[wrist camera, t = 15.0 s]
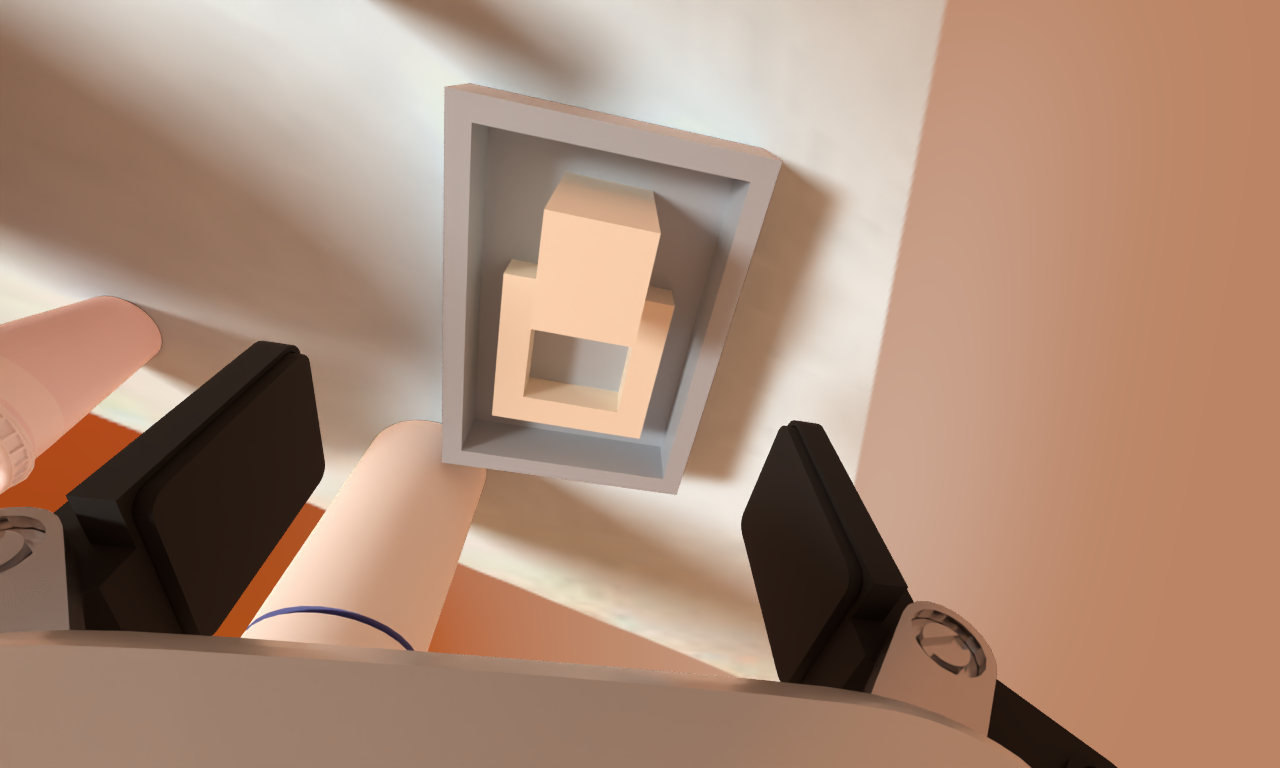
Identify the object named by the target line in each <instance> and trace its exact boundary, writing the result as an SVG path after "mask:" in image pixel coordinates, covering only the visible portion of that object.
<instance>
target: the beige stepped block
mask: <svg viewBox="0 0 1280 768" xmlns="http://www.w3.org/2000/svg"><path fill="white" fill-rule="evenodd" d="M660 235H661V232H660V227H659V221H658V216H657V210H656V205H655V199H654V193H653V191H652V190H647V189H643V188H638V187H634V186H629V185H624V184H620V183H615V182H611V181H606V180H602V179H597V178H593V177H588V176H584V175H579V174H574V173H570V172H565V174H564V175H563V177H562V179H561V181H560V182H559V184H558V186H557V188H556V189H555V191H554V193H553V195H552V196H551V198H550V200H549V202H548V203H547V205H546V207H545V209H544V215H543V223H542V232H541V241H540V249H539V258H538V264H535V263H530V262H525V261H520V260H515V259H512V260H511V262H510V263H509V265H508V267H507V268H506V270H505V272H504V275H503V287H502V299H501V312H500V324H499V336H498V348H497V360H496V372H495V385H494V397H493V409H492V415H493V416H499V417H506V418H512V419H518V420H524V421H531V422H537V423H543V424H549V425H556V426H562V427H568V428H574V429H581V430H587V431H593V432H599V433H606V434H612V435H618V436H624V437H631V438H637V439H640V435H641V432H642V428H643V424H644V420H645V417H646V413H647V409H648V405H649V401H650V398H651V394H652V390H653V386H654V383H655V379H656V375H657V371H658V368H659V364H660V360H661V356H662V353H663V349H664V345H665V341H666V338H667V334H668V330H669V326H670V323H671V319H672V315H673V311H674V308H675V304H674V299H673V294H672V290H667V289H662V288H657V287H652V286H649V282H650V278H651V273H652V269H653V265H654V261H655V256H656V252H657V248H658V243H659V239H660ZM535 330H538V331H544V332H549V333H555V334H560V335H566V336H571V337H577V338H582V339H588V340H594V341H599V342H605V343H610V344H616V345H621V346H627V347H629V348H628V352H627V357H626V361H625V366H624V370H623V374H622V379H621V383H620V388H619V392H614V391H608V390H603V389H597V388H591V387H585V386H579V385H573V384H567V383H561V382H556V381H550V380H544V379H538V378H532V377H529V376H530V368H531V359H532V351H533V343H534V335H535Z"/></svg>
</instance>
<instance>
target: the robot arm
mask: <svg viewBox="0 0 1280 768" xmlns="http://www.w3.org/2000/svg"><path fill="white" fill-rule="evenodd" d="M324 469H325V460H324V454H323V447H322V440H321V434H320V427H319V421H318V414H317V407H316V401H315V394H314V388H313V381H312V374H311V368H310V362H309V359H308V357H307V356H306V355H302V354H300V351H299V349H298V348H297V347H296V346H294V345H288V344H281V343H274V342H268V341H258V342H256V343H254V344H253V345H252V346H251V347H249V348H248V349H247V350H246V351H244V352H243V353H242V354H241V355H239V356H238V357H237V358H236V359H235V360H233V361H232V362H231V363H230V364H228V365H227V366H226V367H225V368H223V369H222V370H221V371H220V372H218V373H217V374H216V375H215V376H213V377H212V378H211V379H210V380H208V381H207V382H206V383H205V384H203V385H202V386H201V387H200V388H199V389H197V390H196V391H195V392H194V393H192V394H191V395H190V396H189V397H187V398H186V399H185V400H184V401H182V402H181V403H180V404H179V405H177V406H176V407H175V408H174V409H172V410H171V411H170V412H169V413H167V414H166V415H165V416H164V417H163V418H161V419H160V420H159V421H158V422H156V423H155V424H154V425H153V426H151V427H150V428H149V429H148V430H146V431H145V432H144V433H143V434H141V435H140V436H139V437H138V438H137V439H135V440H134V441H133V442H131V443H130V444H129V445H128V446H127V447H125V448H124V449H123V450H122V451H120V452H119V453H118V454H117V455H115V456H114V457H113V458H112V459H110V460H109V461H108V462H107V463H105V464H104V465H103V466H102V467H101V468H99V469H98V470H97V471H96V472H94V473H93V474H92V475H91V476H89V477H88V478H87V479H86V480H84V481H83V482H82V483H81V484H79V485H78V486H77V487H76V488H74V489H73V490H72V491H71V492H69V493H68V494H67V495H66V497H67V499H68V502H66V503H65V504H64V505H63V506H62V507H60V508H59V509H58V510H57V511H56V512H54V513H51V512H50V511H48V510H45V509H39V508H33V507H13V508H3V509H0V768H1117V767H1116V766H1115V765H1114V764H1112V763H1111V762H1110V761H1109V760H1107V759H1106V758H1104V757H1103V756H1102V755H1100V754H1099V753H1098V752H1096V751H1095V750H1093V749H1092V748H1091V747H1089V746H1088V745H1086V744H1085V743H1084V742H1082V741H1081V740H1079V739H1078V738H1077V737H1075V736H1074V735H1073V734H1071V733H1070V732H1069V731H1067V730H1066V729H1064V728H1063V727H1062V726H1060V725H1059V724H1058V723H1056V722H1055V721H1053V720H1052V719H1051V718H1049V717H1048V716H1046V715H1045V714H1044V713H1042V712H1041V711H1040V710H1038V709H1037V708H1036V707H1034V706H1033V705H1031V704H1030V703H1029V702H1027V701H1026V700H1025V699H1023V698H1022V697H1020V696H1019V695H1018V694H1016V693H1015V692H1014V691H1012V690H1011V689H1009V688H1008V687H1007V686H1005V685H1004V684H1003V683H1001V682H1000V681H998V680H997V679H996V678H997V664H996V660H995V657H994V655H993V653H992V650H991V648H990V647H989V645H988V644H987V642H986V641H985V639H984V638H983V636H982V635H981V634H980V633H979V632H978V631H977V630H976V629H975V628H974V627H973V626H972V625H971V624H970V623H969V622H968V621H966V620H965V619H964V618H962V617H961V616H960V615H958V614H957V613H955V612H954V611H952V610H950V609H947V608H946V607H944V606H942V605H939V604H935V603H932V602H926V601H917V602H913V600H912V598H911V596H910V594H909V592H908V590H907V588H908V586H907V584H906V582H905V580H904V579H903V577H902V575H901V573H900V571H899V569H898V567H897V565H896V564H895V562H894V560H893V559H892V556H891V554H890V552H889V550H888V549H887V547H886V545H885V543H884V541H883V539H882V538H881V536H880V534H879V532H878V530H877V528H876V526H875V524H874V523H873V521H872V519H871V517H870V515H869V513H868V511H867V509H866V507H865V506H864V504H863V502H862V500H861V498H860V496H859V494H858V492H857V491H856V489H855V487H854V485H853V483H852V481H851V479H850V477H849V476H848V474H847V472H846V470H845V468H844V466H843V464H842V462H841V461H840V459H839V457H838V455H837V453H836V451H835V449H834V448H833V446H832V444H831V442H830V440H829V438H828V436H827V434H826V433H825V431H824V429H823V427H822V426H821V425H819V424H816V423H809V422H802V421H795V420H794V421H791V422H790V423H789V424H788V426H782V427H781V428H780V429H779V431H778V433H777V436H776V438H775V440H774V443H773V445H772V447H771V450H770V452H769V454H768V457H767V459H766V461H765V464H764V466H763V468H762V471H761V473H760V476H759V478H758V480H757V483H756V485H755V487H754V490H753V492H752V494H751V497H750V499H749V501H748V504H747V506H746V508H745V511H744V513H743V516H742V521H741V530H742V535H743V539H744V543H745V547H746V551H747V555H748V559H749V563H750V567H751V571H752V575H753V579H754V583H755V587H756V591H757V595H758V599H759V603H760V606H761V610H762V614H763V618H764V622H765V626H766V630H767V634H768V638H769V642H770V646H771V650H772V654H773V658H774V662H775V666H776V670H777V674H778V677H779V680H780V681H781V682H776V681H766V680H756V679H747V678H736V677H724V676H713V675H701V674H690V673H678V672H666V671H655V670H643V669H631V668H620V667H607V666H596V665H583V664H572V663H559V662H547V661H535V660H522V659H509V658H498V657H485V656H473V655H460V654H446V653H435V652H422V651H410V650H396V649H383V648H370V647H357V646H343V645H330V644H317V643H303V642H290V641H277V640H263V639H250V638H235V637H218V636H212V635H213V634H214V633H215V632H216V631H217V630H218V628H219V627H220V626H221V624H222V623H223V621H224V620H225V618H226V617H227V615H228V614H229V613H230V611H231V610H232V608H233V607H234V605H235V604H236V602H237V601H238V599H239V598H240V597H241V595H242V594H243V592H244V591H245V589H246V588H247V586H248V585H249V584H250V582H251V581H252V579H253V578H254V576H255V575H256V574H257V572H258V571H259V569H260V568H261V566H262V565H263V563H264V562H265V561H266V559H267V558H268V556H269V555H270V553H271V552H272V550H273V549H274V548H275V546H276V545H277V543H278V542H279V540H280V539H281V538H282V536H283V535H284V533H285V532H286V530H287V529H288V527H289V526H290V525H291V523H292V522H293V520H294V519H295V517H296V516H297V514H298V513H299V512H300V510H301V508H302V507H303V506H304V504H305V503H306V501H307V500H308V499H309V497H310V496H311V494H312V493H313V491H314V490H315V489H316V487H317V486H318V484H319V483H320V481H321V479H322V477H323V474H324Z"/></svg>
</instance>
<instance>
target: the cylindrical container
mask: <svg viewBox="0 0 1280 768" xmlns="http://www.w3.org/2000/svg"><path fill="white" fill-rule="evenodd" d="M486 474H487V471H486V468H479V467H471V466H464V465H457V464H450V463H442V424H440V423H436V422H431V421H425V420H411V421H403V422H399V423H396V424H394V425H391V426H389V427H387V428H386V429H384V430H383V431H381V432H380V433H379V434H378V435H377V436H376V438H375V439H374V441H373V442H372V444H371V445H370V447H369V448H368V450H367V451H366V452H365V454H364V455H363V457H362V458H361V460H360V461H359V463H358V464H357V466H356V467H355V469H354V470H353V472H352V473H351V475H350V476H349V478H348V479H347V481H346V482H345V484H344V485H343V487H342V488H341V490H340V491H339V493H338V494H337V496H336V497H335V499H334V500H333V502H332V503H331V505H330V506H329V507H328V509H327V510H326V512H325V514H324V515H323V516H322V518H321V519H320V521H319V522H318V524H317V525H316V527H315V528H314V530H313V531H312V533H311V534H310V536H309V537H308V539H307V540H306V542H305V543H304V545H303V546H302V547H301V549H300V551H299V552H298V553H297V555H296V556H295V558H294V560H293V561H292V562H291V564H290V565H289V567H288V568H287V570H286V571H285V573H284V574H283V576H282V577H281V579H280V580H279V582H278V583H277V585H276V586H275V587H274V589H273V590H272V592H271V594H270V595H269V596H268V598H267V599H266V601H265V602H264V604H263V605H262V607H261V608H260V610H259V611H258V613H257V614H256V616H255V617H254V619H253V620H252V622H251V623H250V625H249V626H248V628H247V629H246V631H245V632H244V633H243V635H242V636H241V638H250V639H263V640H277V641H290V642H303V643H317V644H330V645H343V646H357V647H370V648H383V649H396V650H410V651H422V652H427V651H428V648H429V645H430V642H431V639H432V636H433V633H434V630H435V627H436V625H437V622H438V618H439V616H440V613H441V610H442V607H443V604H444V601H445V598H446V595H447V592H448V590H449V587H450V584H451V581H452V578H453V575H454V572H455V569H456V566H457V563H458V560H459V557H460V554H461V551H462V549H463V546H464V543H465V540H466V537H467V534H468V531H469V528H470V525H471V522H472V519H473V516H474V513H475V510H476V507H477V505H478V502H479V499H480V496H481V493H482V490H483V487H484V484H485V481H486Z"/></svg>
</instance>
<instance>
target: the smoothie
mask: <svg viewBox="0 0 1280 768" xmlns="http://www.w3.org/2000/svg"><path fill="white" fill-rule="evenodd" d="M161 345H162V338H161V334H160V331H159V329H158V327H157V326H156V324H155V323H154V321H153V320H152V319H151V318H150V317H149V316H148V315H147V314H146V313H145V312H144V311H142V310H141V309H140V308H138V307H137V306H135V305H133V304H132V303H130V302H128V301H125V300H123V299H120V298H116V297H111V296H99V297H95V298H91V299H88V300H84V301H81V302H77V303H74V304H70V305H67V306H63V307H60V308H56V309H53V310H49V311H46V312H42V313H39V314H35V315H32V316H28V317H25V318H21V319H18V320H14V321H11V322H7V323H4V324H0V494H1V493H3V492H4V491H5V490H7V489H8V488H10V487H12V486H14V485H16V484H18V483H20V482H21V481H23V480H25V479H27V477H28V476H29V474H30V473H31V471H32V470H33V468H34V460H35V459H36V458H37V457H38V456H39V455H40V454H42V453H43V452H44V451H45V450H46V449H48V448H49V447H50V446H51V445H52V444H54V443H55V442H56V441H57V440H58V439H59V438H60V437H61V436H62V435H64V434H65V433H66V432H67V431H68V430H69V429H70V428H72V427H73V426H74V425H75V424H76V423H77V422H79V421H80V420H81V419H82V418H83V417H84V416H85V415H87V414H88V413H89V412H90V411H91V410H92V409H94V408H95V407H96V406H97V405H98V404H99V403H101V402H102V401H103V400H104V399H105V398H106V397H108V396H109V395H110V394H111V393H112V392H113V391H114V390H116V389H117V388H118V387H119V386H120V385H121V384H123V383H124V382H125V381H126V380H127V379H128V378H129V377H131V376H132V375H133V374H134V373H135V372H136V371H138V370H139V369H140V368H141V367H142V366H143V365H145V364H146V363H147V362H148V361H149V360H150V359H151V358H153V357H154V356H155V355H156V354H157V353H158V352H159V350H160V349H161Z"/></svg>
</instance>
